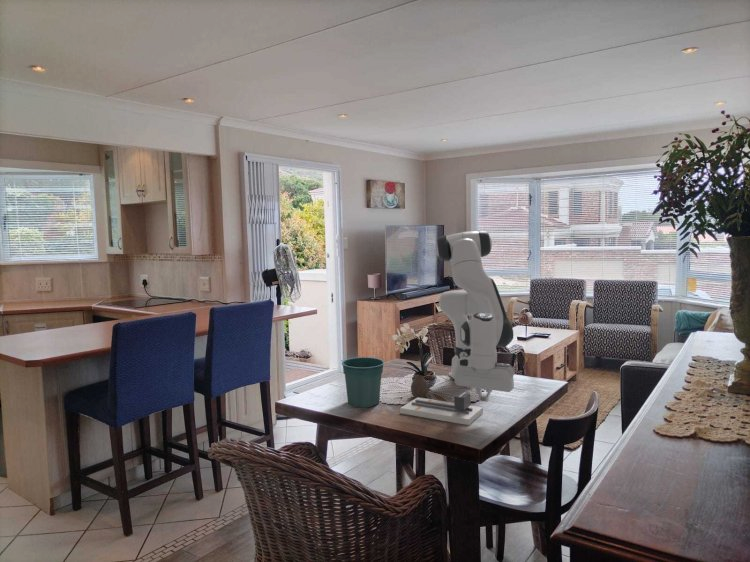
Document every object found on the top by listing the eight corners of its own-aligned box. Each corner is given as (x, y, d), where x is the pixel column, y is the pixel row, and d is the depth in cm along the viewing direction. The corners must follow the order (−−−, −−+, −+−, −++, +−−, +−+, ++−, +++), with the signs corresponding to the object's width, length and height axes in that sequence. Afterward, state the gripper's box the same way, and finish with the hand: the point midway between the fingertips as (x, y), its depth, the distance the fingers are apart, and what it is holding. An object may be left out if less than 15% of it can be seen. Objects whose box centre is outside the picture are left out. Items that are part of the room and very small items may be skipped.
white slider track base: (417, 402, 206) (417, 395, 206) (482, 412, 193) (482, 405, 192) (400, 413, 194) (400, 405, 194) (468, 425, 181) (468, 417, 180)
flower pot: (392, 399, 210) (391, 359, 208) (372, 412, 195) (371, 369, 194) (356, 394, 218) (355, 355, 216) (334, 406, 203) (333, 364, 202)
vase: (427, 400, 208) (427, 378, 207) (409, 399, 209) (409, 377, 209) (429, 395, 215) (429, 373, 214) (412, 394, 216) (411, 373, 215)
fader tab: (460, 406, 193) (460, 391, 192) (470, 408, 191) (470, 393, 190) (454, 411, 187) (454, 396, 187) (464, 413, 186) (464, 397, 185)
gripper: (516, 362, 181) (516, 402, 182) (459, 356, 191) (459, 394, 192) (511, 366, 175) (510, 407, 176) (452, 360, 186) (452, 399, 187)
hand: (483, 400), depth 184 cm, fingers closed
